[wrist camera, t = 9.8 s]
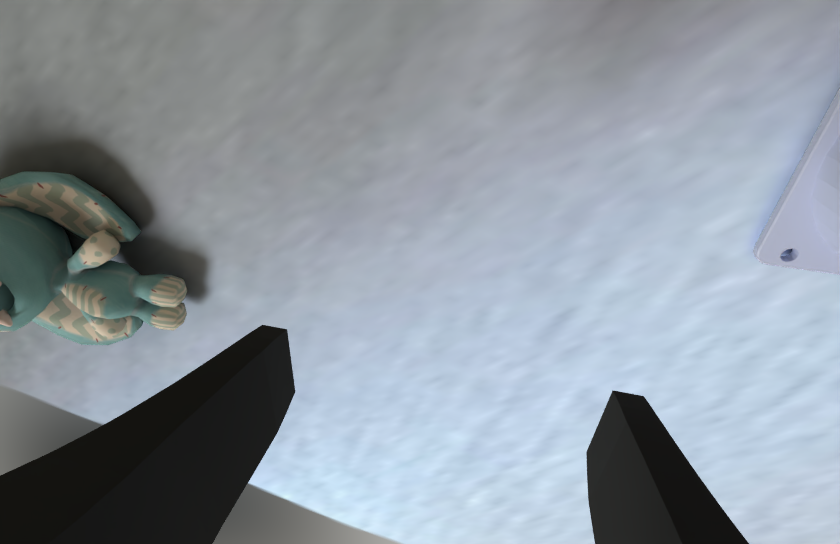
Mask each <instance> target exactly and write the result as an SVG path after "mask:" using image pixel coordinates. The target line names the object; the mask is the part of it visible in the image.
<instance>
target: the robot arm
mask: <svg viewBox="0 0 840 544" xmlns="http://www.w3.org/2000/svg"><path fill="white" fill-rule="evenodd" d="M787 249H793V250H792V252H791V253H790V254H788V255H786V256H781V254H782V253H783V252H784V251H785V250H787ZM753 253H754V256H755V257H756V258H757V259H758V260H759V261H760V262H761V263H764V264H767V265H774V266H781V267H788V268H795V269H802V270H809V271H816V272H823V273H830V274H837V275H840V88H839V90H838V92H837V94H836V96H835V97H834V99H833V101H832V103H831V105H830V107H829V109H828V110H827V112H826V114H825V116H824V118H823V120H822V122H821V123H820V125H819V127H818V129H817V131H816V133H815V135H814V136H813V138H812V140H811V142H810V144H809V146H808V148H807V149H806V151H805V153H804V155H803V157H802V159H801V161H800V162H799V164H798V166H797V168H796V170H795V172H794V174H793V175H792V177H791V179H790V181H789V183H788V185H787V187H786V188H785V190H784V192H783V194H782V196H781V198H780V200H779V201H778V203H777V205H776V207H775V209H774V211H773V213H772V214H771V216H770V218H769V220H768V222H767V224H766V226H765V227H764V229H763V231H762V233H761V235H760V237H759V239H758V240H757V242H756V244H755V246H754V249H753ZM294 393H295V386H294V379H293V371H292V364H291V356H290V348H289V341H288V333H287V329H282V328H276V327H271V326H266V325H261V326H260V327H258V328H257V329H255V330H254V331H252V332H251V333H249V334H248V335H246V336H245V337H243V338H242V339H240V340H239V341H237V342H236V343H234V344H233V345H231V346H230V347H228V348H227V349H225V350H224V351H222V352H221V353H219V354H218V355H216V356H215V357H213V358H212V359H210V360H209V361H207V362H206V363H204V364H203V365H201V366H200V367H198V368H197V369H195V370H194V371H192V372H191V373H189V374H188V375H186V376H184V377H183V378H181V379H180V380H178V381H177V382H175V383H174V384H172V385H170V386H169V387H167V388H165V389H164V390H162V391H160V392H159V393H157V394H156V395H154V396H152V397H151V398H149V399H147V400H146V401H144V402H142V403H141V404H139V405H137V406H136V407H134V408H132V409H131V410H129V411H127V412H126V413H124V414H122V415H121V416H119V417H117V418H115V419H113V420H112V421H110V422H108V423H106V424H104V425H103V426H101V427H99V428H97V429H95V430H94V431H91V432H90V433H88V434H86V435H84V436H82V437H80V438H78V439H76V440H74V441H72V442H70V443H68V444H66V445H65V446H63V447H61V448H59V449H57V450H54V451H53V452H50V453H49V454H46V455H44V456H42V457H40V458H38V459H36V460H33V461H31V462H29V463H27V464H25V465H23V466H21V467H18V468H16V469H14V470H12V471H9V472H7V473H5V474H3V475H1V476H0V544H212V543H213V542H214V540H215V538H216V536H217V534H218V532H219V531H220V529H221V527H222V525H223V523H224V522H225V520H226V518H227V517H228V515H229V513H230V512H231V510H232V508H233V507H234V505H235V503H236V501H237V500H238V498H239V496H240V495H241V493H242V492H243V490H244V488H245V486H246V485H247V483H248V482H249V480H250V478H251V476H252V475H253V473H254V471H255V470H256V468H257V466H258V465H259V463H260V461H261V460H262V458H263V456H264V455H265V453H266V451H267V449H268V448H269V446H270V444H271V443H272V441H273V439H274V437H275V436H276V434H277V432H278V430H279V428H280V426H281V423H282V421H283V419H284V417H285V415H286V412H287V410H288V408H289V405H290V403H291V400H292V398H293V396H294ZM587 480H588V498H589V507H590V514H591V520H592V526H593V533H594V539H595V544H749V543H748V542H747V541H746V539H745V538H744V537H743V535H742V534H741V533H740V532H739V530H738V529H737V528H736V526H735V525H734V524H733V522H732V521H731V520H730V518H729V517H728V516H727V514H726V513H725V512H724V510H723V509H722V508H721V506H720V505H719V504H718V502H717V501H716V499H715V498H714V497H713V495H712V494H711V493H710V491H709V490H708V488H707V487H706V486H705V484H704V483H703V482H702V480H701V479H700V477H699V476H698V475H697V473H696V472H695V470H694V469H693V468H692V466H691V465H690V463H689V462H688V460H687V459H686V457H685V456H684V455H683V453H682V452H681V450H680V449H679V447H678V446H677V444H676V443H675V441H674V440H673V438H672V437H671V436H670V434H669V433H668V431H667V430H666V428H665V427H664V425H663V424H662V422H661V421H660V419H659V418H658V416H657V415H656V413H655V412H654V410H653V409H652V407H651V406H650V405H649V403H648V402H647V400H646V399H645V397H644V396H639V395H634V394H629V393H623V392H618V391H612V394H611V396H610V398H609V401H608V403H607V405H606V408H605V410H604V412H603V415H602V417H601V419H600V422H599V424H598V427H597V429H596V431H595V434H594V436H593V438H592V441H591V443H590V445H589V448H588V450H587Z"/></svg>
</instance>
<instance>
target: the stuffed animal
mask: <svg viewBox="0 0 840 544" xmlns="http://www.w3.org/2000/svg"><path fill="white" fill-rule="evenodd" d="M59 225H60V226H62V227H64V228H65V229H67V230H69V231H71V232H72V233H74V234H76V235H78V236H79V237H81V238H84V239H87V240H86V241H85V242H84V243H83V245H82V246H81V247H80V248H79V249H78V250H77V251H76V252H75V254H74V255H73V251H72V248H71V245H70V241H69V238H68V236H67V234H66V232H65V230H64V229H63V228H61V227H60V226H59ZM140 233H141V231H140V229H139V228H138V227H137V225H136V224H135V223H134V221H133V220H132V219H130V218H129V217H128V216H127V215H126V214H125V213H124V212H123V211H122V210H121V209H120V208H119V207H118V206H117V205H116V204H115V203H114V202H113V201H111V200H110V199H109V198H108V197H107V196H105V195H104V194H103V193H101V192H99V191H98V190H96V189H95V188H93V187H91V186H90V185H88V184H87V183H85V182H83V181H82V180H80V179H79V178H77V177H75V176H74V175H71V174H63V173H55V172H27V171H23V172H20V173H17V174H14V175H11V176H8V177H5V178H2V179H0V332H10V331H16V330H17V329H19V328H21V327H23V326H25V325H26V324H28V323H29V322H30V321H33V322H35V323H37V324H39V325H40V326H42V327H44V328H46V329H48V330H50V331H51V332H53V333H55V334H57V335H59V336H61V337H64V338H66V339H69V340H72V341H74V342H77V343H79V344H84V345H110V344H113V343H116V342H118V341H121V340H124V339H127V338H130V337H131V336H132V335H133V334H134V333H135V332H136V331H137V330H138V329H139V328H140V327H141V326H142V324H143V321H144V322H146V323H147V324H149V325H150V326H153V327H156V328H159V329H165V330H175V329H176V328H178V327H179V326H180V325H181V324H183V323H184V320H185V317H186V315H187V313H186V309H185V305H184V303H181V302H182V301H183V300H184V299H185V296H186V293H187V288H186V285H185V282H184V279H181V278H179V277H176V276H173V275H167V274H154V275H140V274H139V273H138V272H137V271H136V270H135V269H133V268H132V267H130V266H129V265H127V264H123V263H119V262H115V261H108V260H110V259H111V258H113V257H114V256H116V255H117V254H118V253H119V249H120V246H121V245H120V244H119V242H126V241H132V240H133V239H134V238H135V237H136V236H137V235H139V234H140ZM72 255H73V256H72Z"/></svg>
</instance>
